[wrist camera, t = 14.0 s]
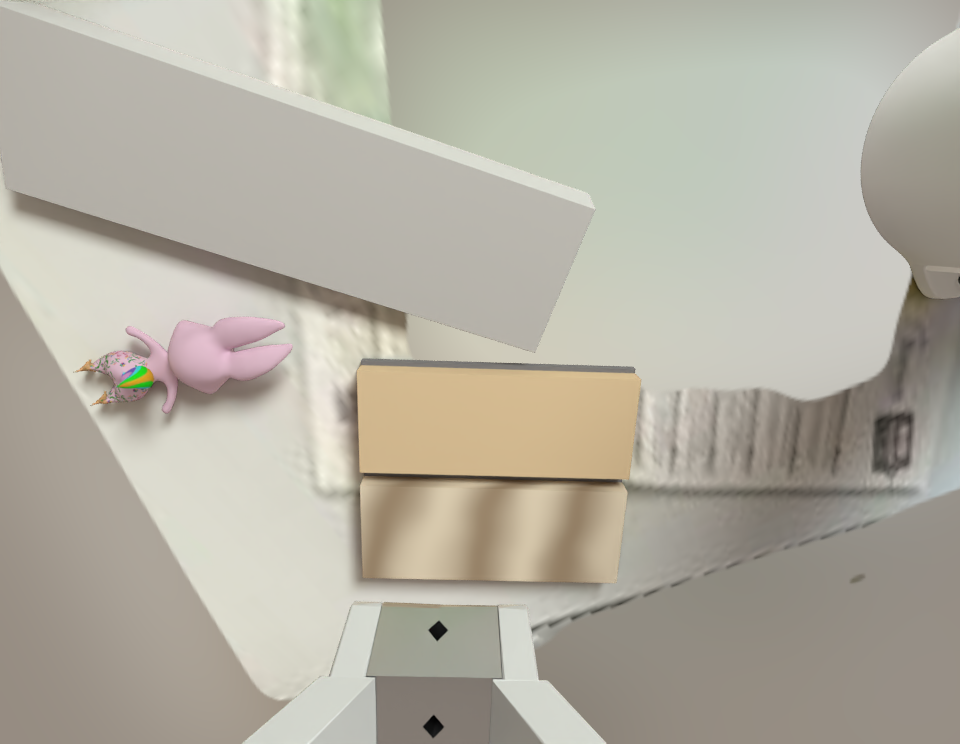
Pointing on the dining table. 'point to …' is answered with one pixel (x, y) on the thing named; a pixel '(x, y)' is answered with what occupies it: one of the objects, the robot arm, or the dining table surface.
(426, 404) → the laid floor
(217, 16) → the dining table surface
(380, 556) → the ash plank
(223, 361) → the rabbit figure
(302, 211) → the decorative molding
